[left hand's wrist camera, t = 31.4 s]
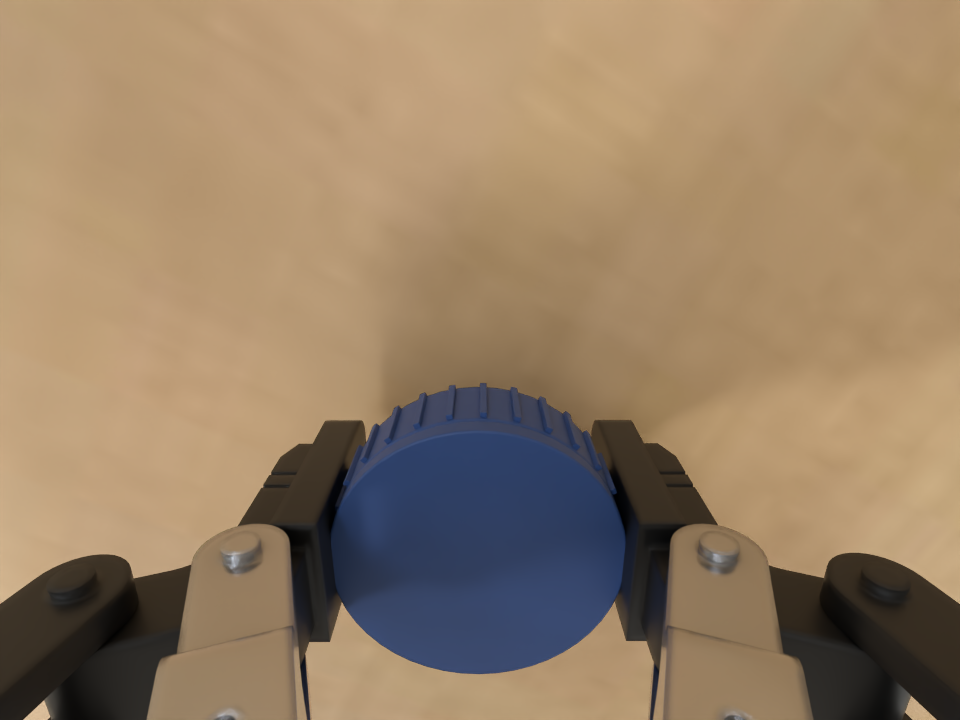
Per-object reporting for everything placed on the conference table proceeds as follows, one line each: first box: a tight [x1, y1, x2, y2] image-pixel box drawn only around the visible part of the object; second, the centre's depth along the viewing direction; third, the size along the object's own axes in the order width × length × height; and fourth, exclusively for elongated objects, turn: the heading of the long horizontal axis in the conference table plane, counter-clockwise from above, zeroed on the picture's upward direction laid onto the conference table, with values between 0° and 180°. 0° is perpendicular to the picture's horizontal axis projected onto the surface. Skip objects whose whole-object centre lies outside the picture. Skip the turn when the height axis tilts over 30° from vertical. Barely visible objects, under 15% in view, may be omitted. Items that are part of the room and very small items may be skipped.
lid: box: [330, 383, 626, 674], centre depth 10 cm, size 5×5×2 cm
